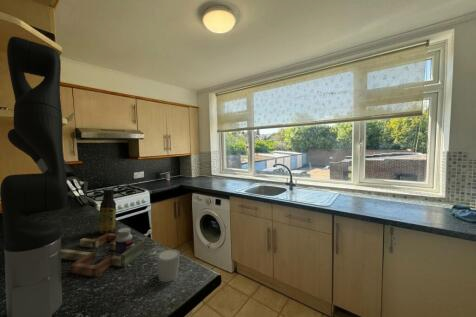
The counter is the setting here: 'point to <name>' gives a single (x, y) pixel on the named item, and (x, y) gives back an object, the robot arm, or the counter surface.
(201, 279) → the counter surface
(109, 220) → the sauce bottle
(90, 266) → the trap channel
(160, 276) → the white cup
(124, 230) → the pill bottle
